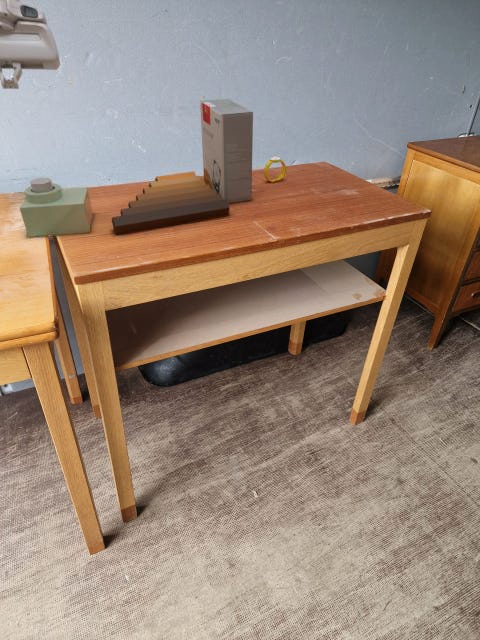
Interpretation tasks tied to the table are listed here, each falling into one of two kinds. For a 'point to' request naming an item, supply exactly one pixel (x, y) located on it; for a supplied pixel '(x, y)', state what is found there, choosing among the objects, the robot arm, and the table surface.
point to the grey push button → (41, 185)
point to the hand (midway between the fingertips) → (10, 87)
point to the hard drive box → (227, 148)
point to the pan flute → (171, 204)
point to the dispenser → (57, 211)
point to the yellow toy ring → (272, 160)
